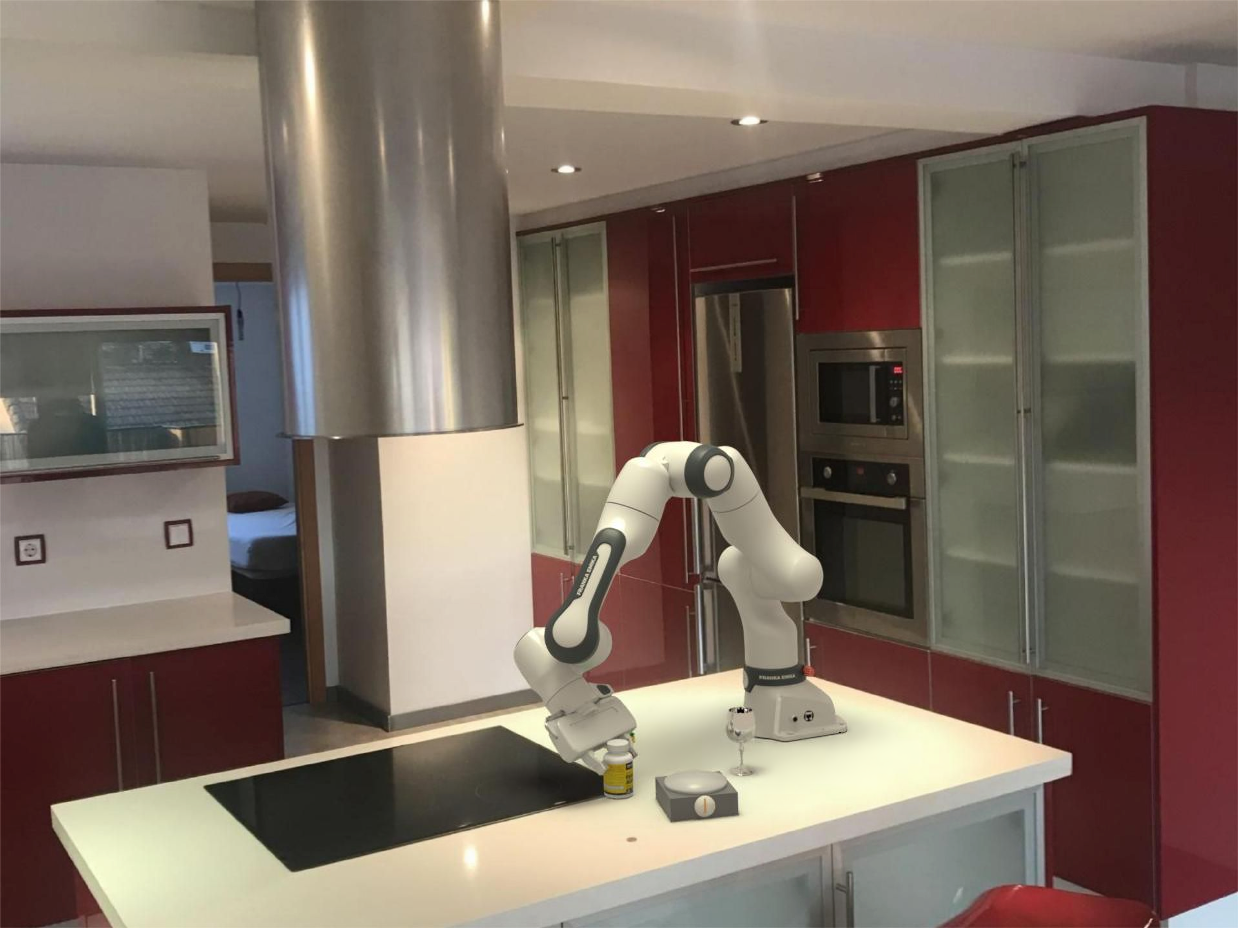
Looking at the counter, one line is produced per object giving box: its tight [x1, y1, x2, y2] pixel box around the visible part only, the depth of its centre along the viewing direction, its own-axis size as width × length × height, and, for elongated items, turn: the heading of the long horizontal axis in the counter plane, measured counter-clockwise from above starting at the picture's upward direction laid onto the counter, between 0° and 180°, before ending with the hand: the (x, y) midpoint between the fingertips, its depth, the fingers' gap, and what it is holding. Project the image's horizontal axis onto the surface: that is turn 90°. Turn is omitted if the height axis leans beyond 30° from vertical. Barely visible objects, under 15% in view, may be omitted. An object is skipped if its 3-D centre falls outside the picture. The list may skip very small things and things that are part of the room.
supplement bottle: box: [602, 739, 634, 800], centre depth 236 cm, size 5×5×10 cm
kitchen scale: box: [654, 769, 739, 823], centre depth 228 cm, size 12×13×5 cm
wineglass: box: [725, 706, 756, 776], centre depth 246 cm, size 6×6×12 cm
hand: (619, 764), depth 236 cm, fingers open, 8 cm apart
